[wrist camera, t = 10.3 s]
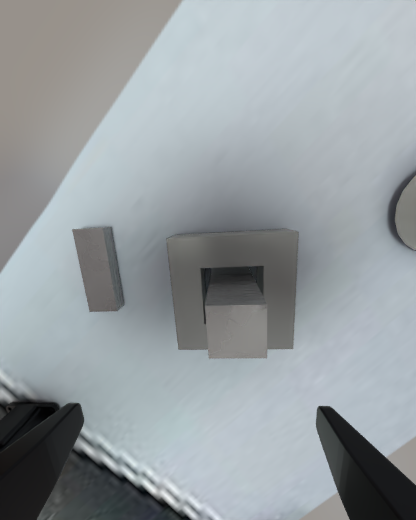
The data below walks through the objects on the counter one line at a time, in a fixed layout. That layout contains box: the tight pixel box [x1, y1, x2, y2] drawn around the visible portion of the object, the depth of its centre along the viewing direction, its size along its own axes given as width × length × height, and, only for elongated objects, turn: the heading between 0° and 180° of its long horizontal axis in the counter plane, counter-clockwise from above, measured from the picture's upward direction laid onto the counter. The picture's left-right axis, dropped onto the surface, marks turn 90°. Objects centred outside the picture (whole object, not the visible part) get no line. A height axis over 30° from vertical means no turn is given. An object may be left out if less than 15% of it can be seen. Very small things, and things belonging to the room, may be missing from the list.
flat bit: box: [72, 227, 124, 312], centre depth 19 cm, size 8×3×2 cm, turn 3°
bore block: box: [166, 229, 298, 350], centre depth 17 cm, size 10×10×3 cm
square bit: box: [205, 266, 267, 358], centre depth 15 cm, size 3×3×8 cm
